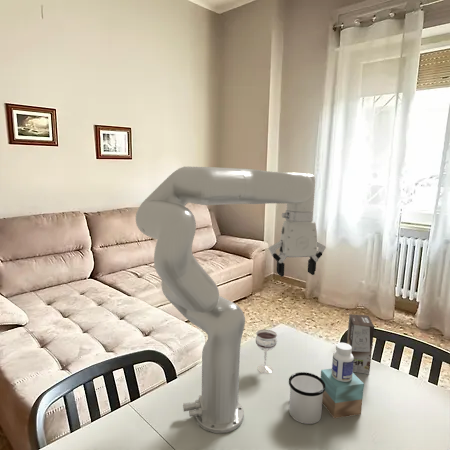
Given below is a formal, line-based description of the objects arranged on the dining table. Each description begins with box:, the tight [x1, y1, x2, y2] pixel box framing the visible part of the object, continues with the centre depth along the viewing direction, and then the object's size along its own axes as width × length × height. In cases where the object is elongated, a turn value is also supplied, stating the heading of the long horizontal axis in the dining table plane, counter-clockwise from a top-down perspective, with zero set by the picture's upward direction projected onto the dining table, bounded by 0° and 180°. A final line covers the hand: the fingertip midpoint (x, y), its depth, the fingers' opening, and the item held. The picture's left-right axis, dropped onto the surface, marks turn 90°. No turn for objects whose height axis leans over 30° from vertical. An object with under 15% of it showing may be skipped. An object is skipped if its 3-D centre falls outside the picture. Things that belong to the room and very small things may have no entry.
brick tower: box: [320, 368, 365, 419], centre depth 95 cm, size 8×8×9 cm
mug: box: [288, 371, 326, 425], centre depth 93 cm, size 12×10×9 cm
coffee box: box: [346, 313, 375, 375], centre depth 115 cm, size 9×6×16 cm
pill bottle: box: [331, 342, 354, 382], centre depth 94 cm, size 5×5×9 cm
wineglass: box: [255, 329, 278, 374], centre depth 112 cm, size 7×7×12 cm
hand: (295, 274), depth 103 cm, fingers open, 9 cm apart
